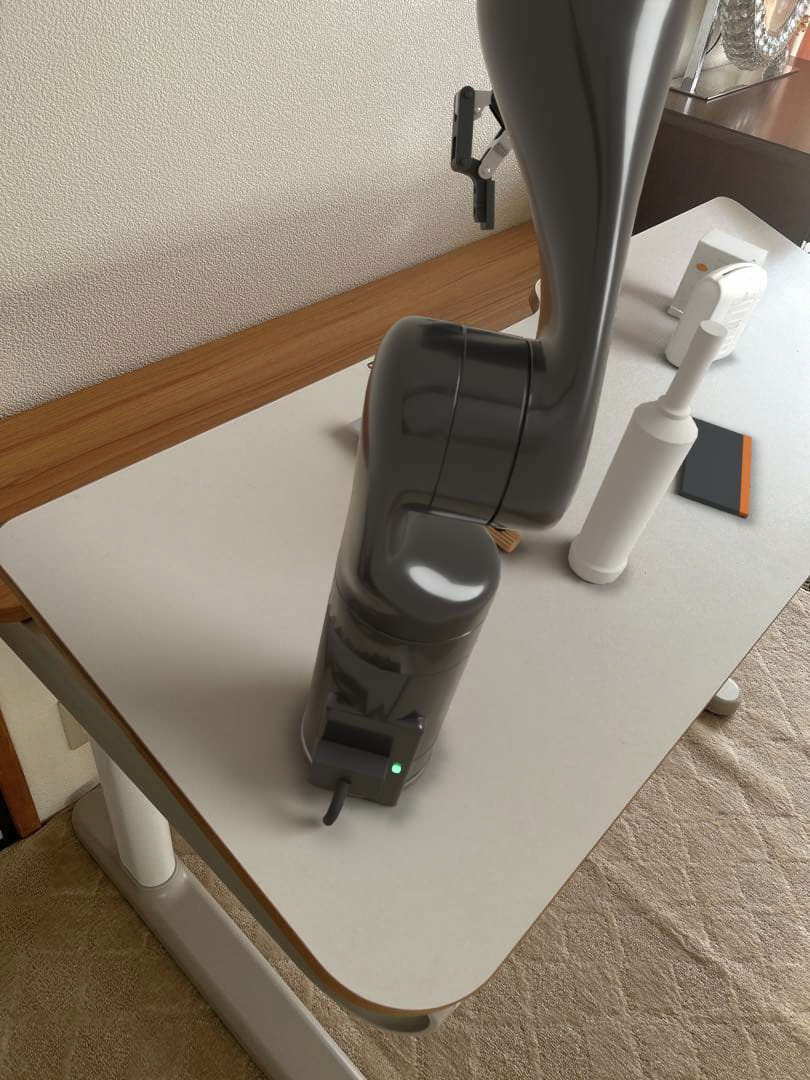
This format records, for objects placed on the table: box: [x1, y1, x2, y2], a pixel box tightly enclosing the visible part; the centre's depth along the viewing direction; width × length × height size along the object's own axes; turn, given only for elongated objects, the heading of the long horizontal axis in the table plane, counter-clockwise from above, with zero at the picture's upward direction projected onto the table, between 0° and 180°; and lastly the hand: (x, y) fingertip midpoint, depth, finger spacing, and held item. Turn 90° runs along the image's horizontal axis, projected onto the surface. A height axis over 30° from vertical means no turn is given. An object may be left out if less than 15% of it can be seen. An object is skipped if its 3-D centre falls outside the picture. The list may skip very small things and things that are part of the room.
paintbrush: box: [348, 416, 522, 553], centre depth 82 cm, size 4×3×20 cm
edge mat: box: [679, 416, 753, 519], centre depth 94 cm, size 14×7×1 cm, turn 162°
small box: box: [666, 227, 769, 320], centre depth 114 cm, size 8×6×10 cm
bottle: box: [567, 320, 728, 585], centre depth 71 cm, size 5×5×25 cm
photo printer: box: [664, 262, 768, 368], centre depth 106 cm, size 10×4×12 cm, turn 126°
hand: (538, 229), depth 73 cm, fingers open, 8 cm apart
